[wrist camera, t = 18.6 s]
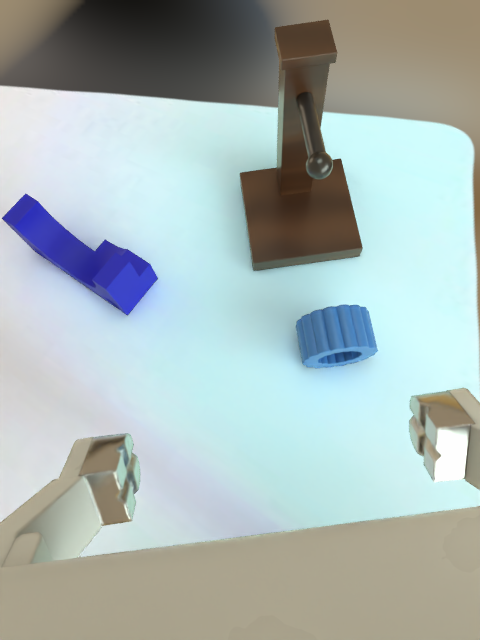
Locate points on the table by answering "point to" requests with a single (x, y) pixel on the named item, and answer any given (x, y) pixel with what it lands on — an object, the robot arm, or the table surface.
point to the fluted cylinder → (336, 336)
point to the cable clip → (83, 256)
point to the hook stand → (300, 165)
